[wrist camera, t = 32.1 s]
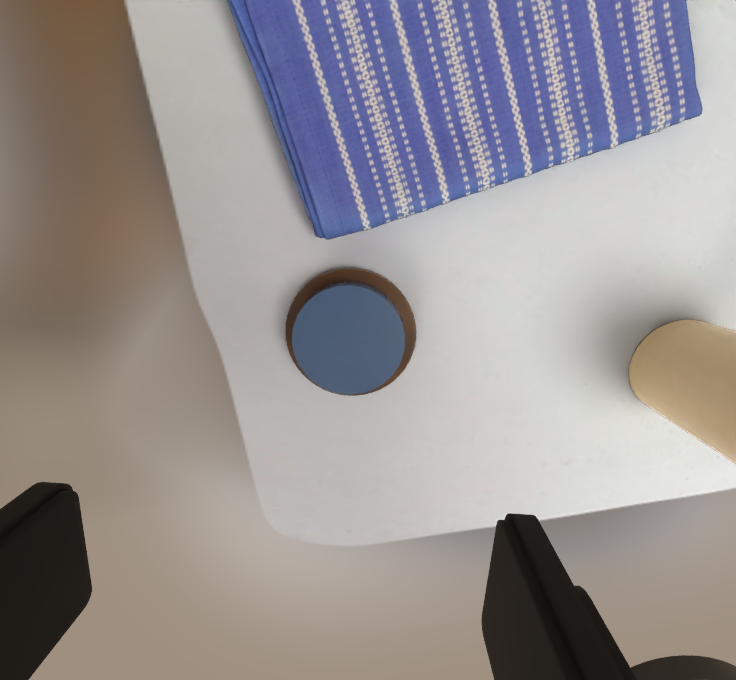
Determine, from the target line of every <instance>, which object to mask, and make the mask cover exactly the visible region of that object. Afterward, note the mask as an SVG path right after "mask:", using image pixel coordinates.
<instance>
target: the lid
mask: <svg viewBox="0 0 736 680" xmlns="http://www.w3.org/2000/svg"><path fill="white" fill-rule="evenodd" d="M304 304H305V305H304V306H303V307H302V309H301V310H300V312H299V313H298V314H297V318H296V320H295V323H294V327H293V332H292V346H293V351H294V355H295V358H296V360H297V362H298V364H299V366H300V368H301V369H302V371H303V372H304V373H305V374H306V376H307V377H308V378H309V379H311V380H312V381H313V382H314V383H315V384H317V385H318V386H320V387H322V388H324V389H326V390H328V391H331V392H334V393H338V394H346V395H353V394H361V393H365V392H368V391H371V390H374V389H375V388H377V387H379V386H381V385H382V384H384V383H385V382H386V381H387V380H388V379H389V378H390V377H391V376H392V375H393V374H394V373H395V371H396V370H397V368H398V367H399V365H400V362H401V360H402V357H403V354H404V351H405V349H404V348H405V338H406V335H405V331H404V328H403V319H402V318H401V317H400V315H399V312H398V310H397V306H396V305H394V304H393V303H392V301H391V300H390V299H389V298H388V297H387V295H385V294H383V293H382V292H381V291H379V290H377V289H376V288H375V287H372V286H369V285H367V284H363V283H361V282H359V283H358V282H347V281H345V282H341V283H336V284H330V285H329V286H328V287H325V288H324V289H322V290H318V291H317V292H316V293H315V295H314V296H313V297H312V298H311V299H310V300H309V299H308V300H307V301H306V302H305V303H304Z"/></svg>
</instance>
